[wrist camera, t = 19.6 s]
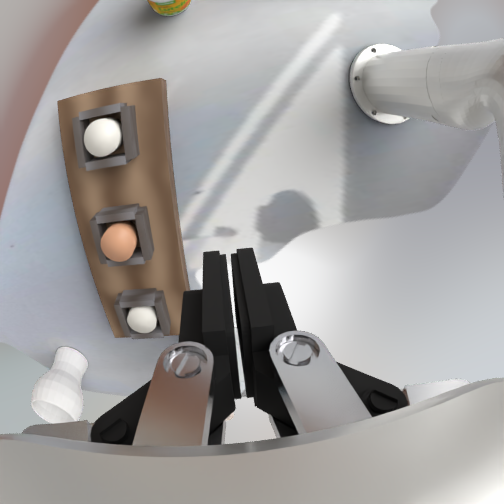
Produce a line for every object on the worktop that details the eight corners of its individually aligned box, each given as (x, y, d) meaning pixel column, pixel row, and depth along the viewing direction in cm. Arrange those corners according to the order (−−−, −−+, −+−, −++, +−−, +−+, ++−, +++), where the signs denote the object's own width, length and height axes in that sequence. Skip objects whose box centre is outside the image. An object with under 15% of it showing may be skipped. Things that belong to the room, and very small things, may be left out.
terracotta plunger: (135, 217, 36) (130, 227, 34) (141, 249, 38) (137, 260, 36) (104, 221, 36) (96, 231, 33) (111, 251, 38) (105, 263, 35)
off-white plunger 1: (123, 114, 31) (116, 115, 28) (127, 149, 33) (120, 153, 30) (91, 121, 31) (81, 123, 28) (95, 155, 33) (86, 159, 30)
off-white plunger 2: (155, 297, 43) (152, 309, 41) (161, 319, 45) (158, 332, 43) (127, 298, 43) (123, 311, 40) (134, 321, 45) (131, 333, 42)
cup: (103, 371, 56) (89, 429, 43) (69, 377, 56) (53, 429, 43) (75, 337, 51) (52, 396, 38) (42, 345, 51) (18, 398, 38)
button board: (166, 80, 33) (156, 76, 27) (195, 318, 51) (194, 346, 45) (70, 100, 32) (46, 102, 26) (119, 322, 50) (111, 349, 44)
